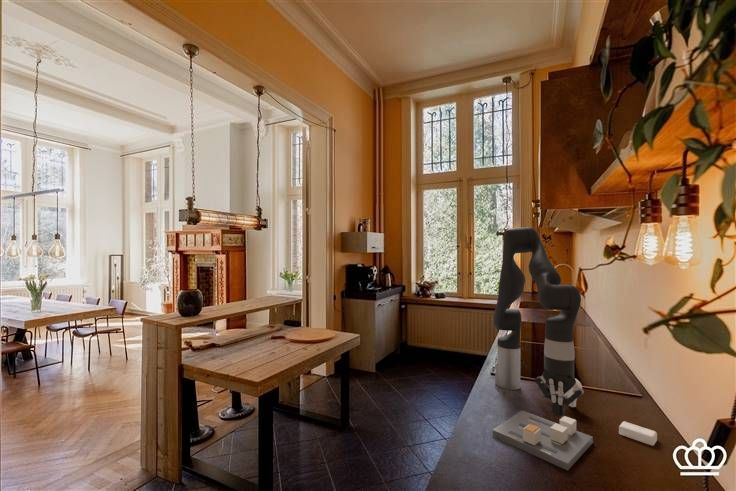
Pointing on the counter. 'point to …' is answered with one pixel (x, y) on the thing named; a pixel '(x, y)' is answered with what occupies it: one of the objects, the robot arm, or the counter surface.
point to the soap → (638, 433)
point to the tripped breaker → (532, 434)
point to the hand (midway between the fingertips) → (558, 415)
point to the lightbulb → (573, 393)
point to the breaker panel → (546, 438)
